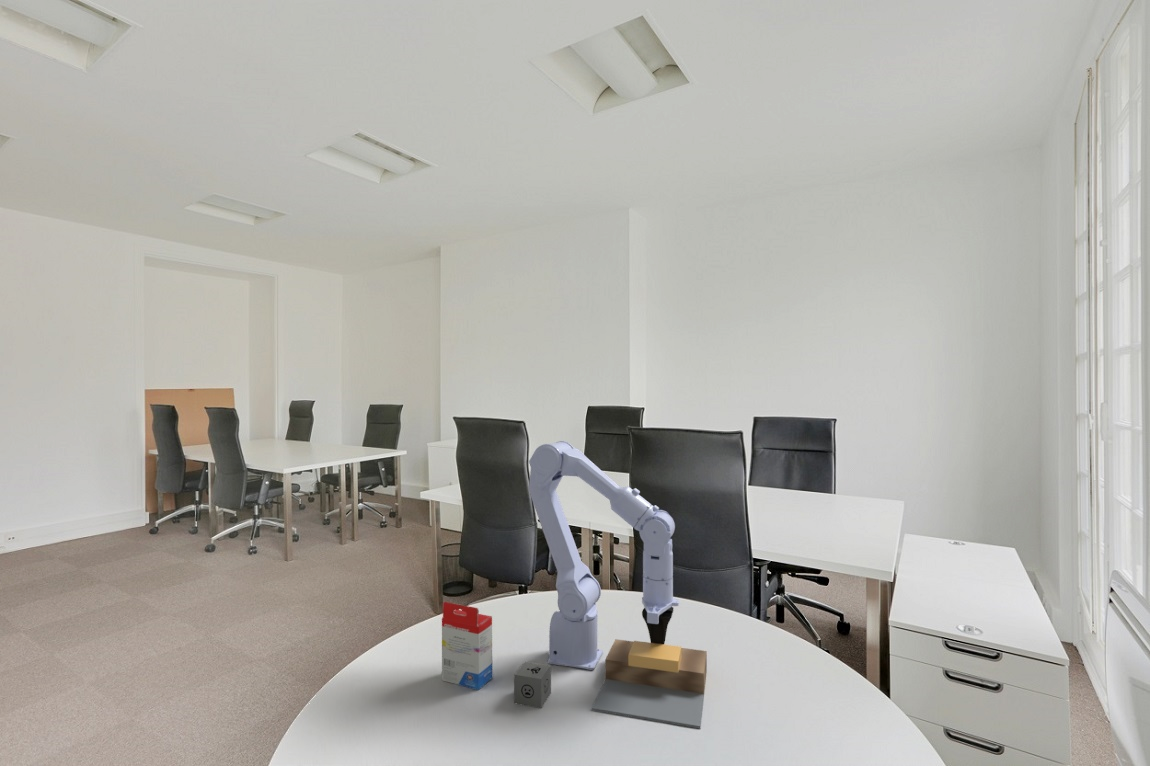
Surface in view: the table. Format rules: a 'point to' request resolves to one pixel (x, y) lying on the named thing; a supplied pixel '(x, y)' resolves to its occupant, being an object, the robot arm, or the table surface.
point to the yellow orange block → (655, 656)
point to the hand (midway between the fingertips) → (657, 647)
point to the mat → (650, 703)
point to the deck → (685, 680)
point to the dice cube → (532, 684)
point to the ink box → (466, 646)
